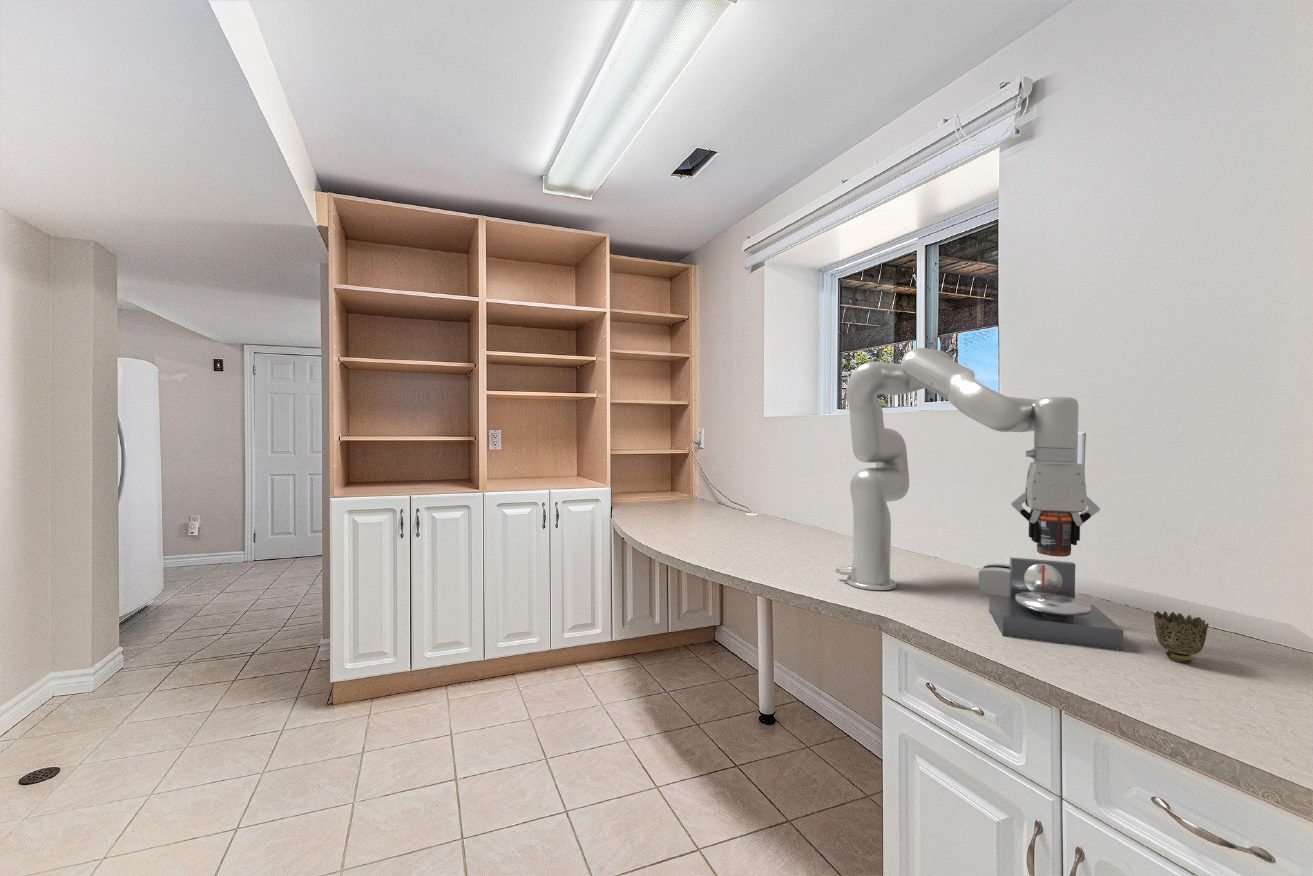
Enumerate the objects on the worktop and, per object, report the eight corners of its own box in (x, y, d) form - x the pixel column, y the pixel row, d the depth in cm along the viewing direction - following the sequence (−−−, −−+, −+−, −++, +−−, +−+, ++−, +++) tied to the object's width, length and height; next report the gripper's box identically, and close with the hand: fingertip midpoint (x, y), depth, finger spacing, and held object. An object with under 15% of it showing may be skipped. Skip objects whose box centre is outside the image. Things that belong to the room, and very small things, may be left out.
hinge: (1060, 607, 137) (1054, 569, 135) (1051, 617, 135) (1045, 579, 133) (988, 590, 151) (982, 556, 149) (979, 598, 149) (972, 564, 147)
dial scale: (1002, 635, 118) (1004, 572, 117) (989, 611, 133) (990, 555, 133) (1122, 650, 110) (1124, 583, 110) (1093, 623, 126) (1094, 564, 126)
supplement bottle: (1073, 554, 120) (1074, 500, 120) (1068, 558, 116) (1070, 503, 116) (1039, 550, 124) (1040, 497, 124) (1033, 554, 120) (1034, 500, 120)
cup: (1212, 672, 101) (1213, 627, 101) (1157, 662, 105) (1158, 619, 104) (1200, 658, 107) (1201, 615, 107) (1149, 649, 111) (1150, 608, 111)
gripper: (1011, 456, 119) (1009, 542, 120) (1112, 458, 113) (1110, 549, 113) (1004, 454, 126) (1002, 536, 127) (1099, 456, 120) (1097, 542, 120)
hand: (1053, 541), depth 120 cm, fingers closed on supplement bottle, 6 cm apart
